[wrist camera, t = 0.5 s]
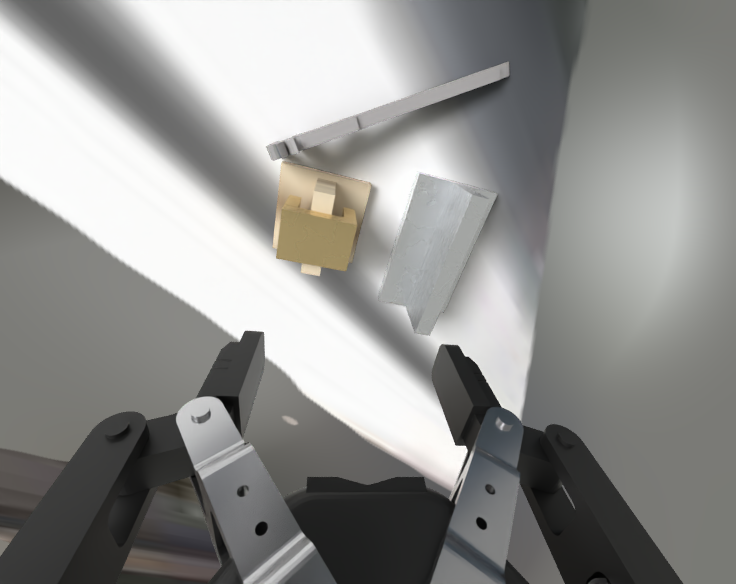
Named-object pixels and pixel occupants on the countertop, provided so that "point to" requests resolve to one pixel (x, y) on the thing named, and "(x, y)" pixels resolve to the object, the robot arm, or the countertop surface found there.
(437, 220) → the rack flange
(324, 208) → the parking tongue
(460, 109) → the countertop surface
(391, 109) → the caliper
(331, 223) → the u clip
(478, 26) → the countertop surface
